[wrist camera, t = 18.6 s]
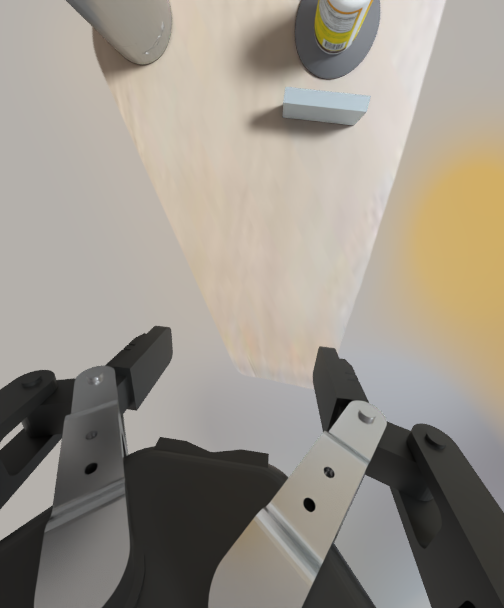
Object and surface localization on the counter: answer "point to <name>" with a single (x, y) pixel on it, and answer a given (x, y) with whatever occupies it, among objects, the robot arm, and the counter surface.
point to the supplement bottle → (339, 23)
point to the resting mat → (333, 63)
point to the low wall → (324, 106)
